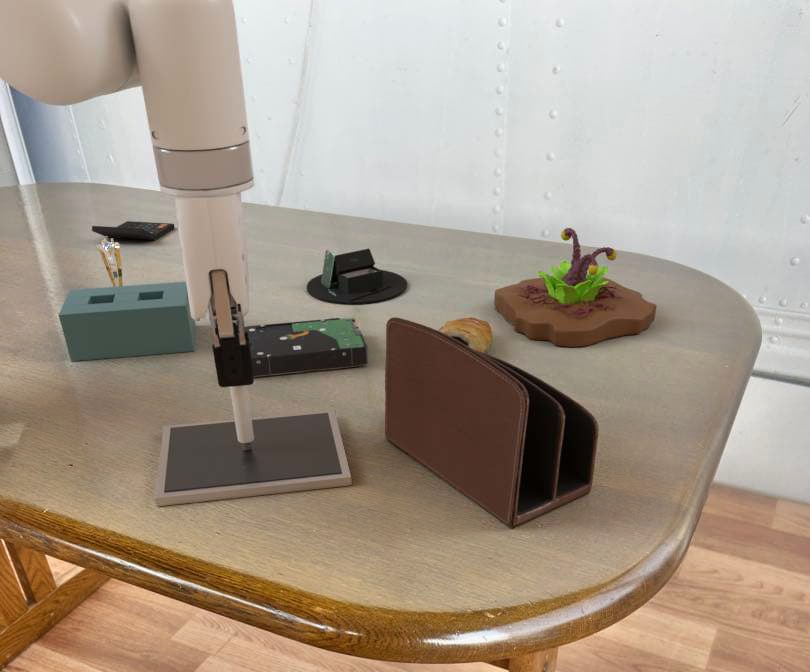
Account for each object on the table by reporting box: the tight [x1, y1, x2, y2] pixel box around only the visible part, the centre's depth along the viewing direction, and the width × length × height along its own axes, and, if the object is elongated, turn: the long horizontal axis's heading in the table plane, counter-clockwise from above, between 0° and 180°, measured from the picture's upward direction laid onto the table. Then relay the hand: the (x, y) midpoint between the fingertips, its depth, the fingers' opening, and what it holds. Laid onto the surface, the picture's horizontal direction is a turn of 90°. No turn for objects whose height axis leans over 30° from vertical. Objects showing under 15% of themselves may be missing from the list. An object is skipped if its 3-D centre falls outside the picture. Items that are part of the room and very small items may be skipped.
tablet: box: [154, 409, 353, 507], centre depth 81 cm, size 18×14×1 cm
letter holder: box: [384, 316, 600, 530], centre depth 75 cm, size 10×20×14 cm, turn 35°
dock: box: [58, 281, 197, 362], centre depth 103 cm, size 9×15×6 cm, turn 100°
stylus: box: [229, 320, 254, 450], centre depth 76 cm, size 2×2×13 cm
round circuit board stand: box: [306, 248, 408, 306], centre depth 120 cm, size 15×15×6 cm
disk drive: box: [244, 317, 369, 378], centre depth 100 cm, size 10×3×15 cm
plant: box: [493, 227, 657, 348], centre depth 108 cm, size 20×20×11 cm
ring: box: [95, 238, 124, 287], centre depth 117 cm, size 7×3×8 cm, turn 24°
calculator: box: [91, 220, 176, 241], centre depth 143 cm, size 9×12×3 cm
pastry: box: [437, 316, 493, 354], centre depth 101 cm, size 9×7×4 cm
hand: (236, 378), depth 76 cm, fingers closed on stylus, 1 cm apart
